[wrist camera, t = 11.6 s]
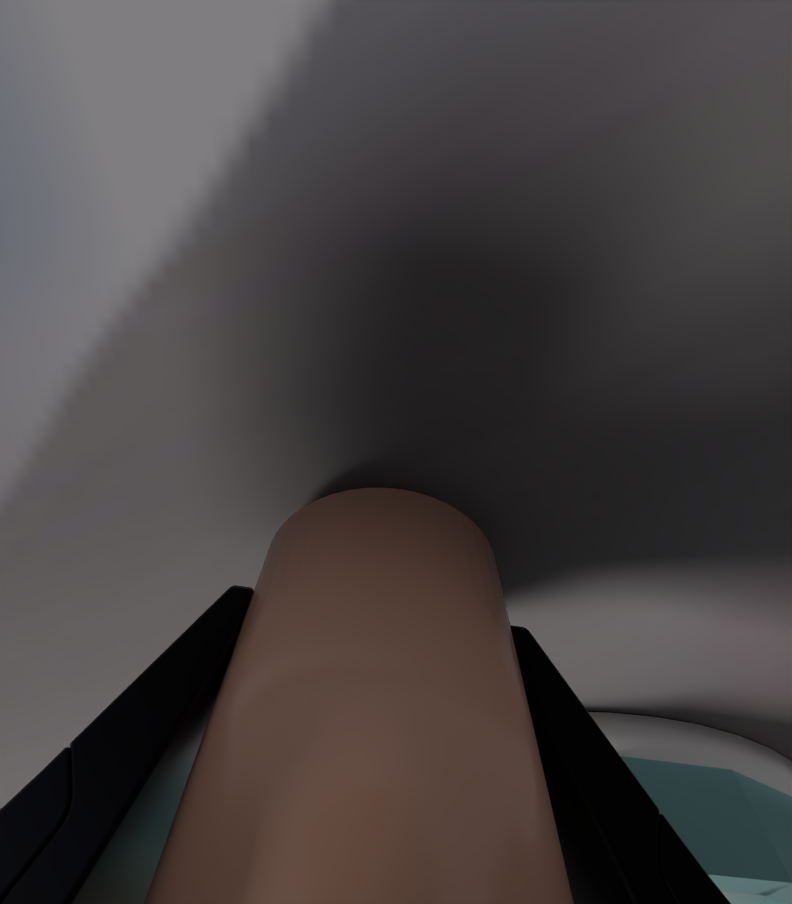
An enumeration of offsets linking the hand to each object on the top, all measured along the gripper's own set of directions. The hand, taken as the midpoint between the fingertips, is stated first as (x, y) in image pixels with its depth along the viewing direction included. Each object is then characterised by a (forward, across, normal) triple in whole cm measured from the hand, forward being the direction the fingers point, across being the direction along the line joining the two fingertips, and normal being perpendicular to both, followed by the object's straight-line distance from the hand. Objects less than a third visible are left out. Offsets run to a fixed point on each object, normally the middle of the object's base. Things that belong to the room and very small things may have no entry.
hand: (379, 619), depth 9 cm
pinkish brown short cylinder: (+1, 0, 0) cm, 1 cm away
